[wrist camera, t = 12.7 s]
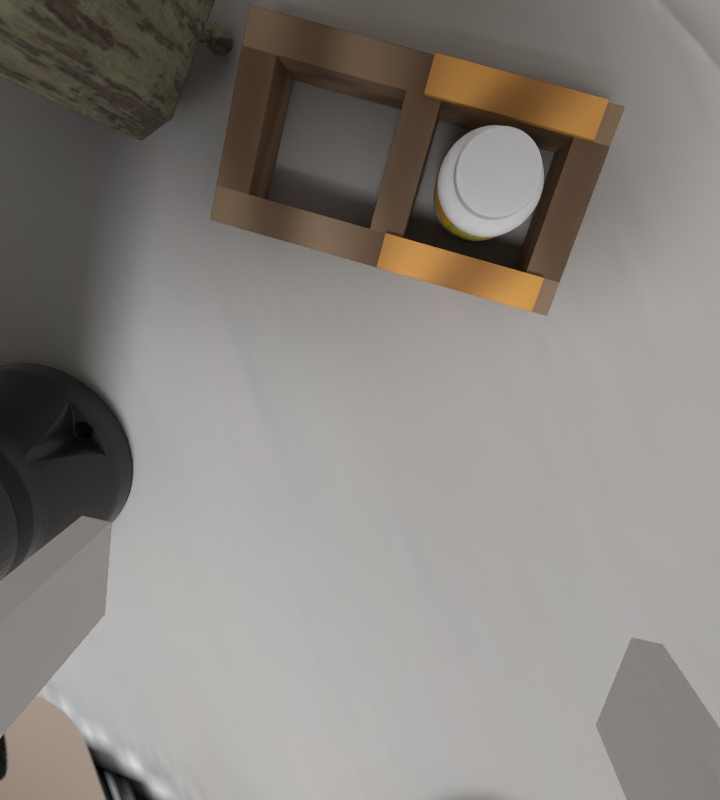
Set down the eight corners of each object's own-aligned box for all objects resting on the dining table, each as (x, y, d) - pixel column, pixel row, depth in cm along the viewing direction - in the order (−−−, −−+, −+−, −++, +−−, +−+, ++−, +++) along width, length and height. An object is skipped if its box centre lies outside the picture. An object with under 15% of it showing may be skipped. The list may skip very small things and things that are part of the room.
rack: (232, 224, 35) (207, 219, 31) (269, 35, 32) (247, 1, 28) (532, 310, 35) (548, 316, 30) (599, 126, 32) (627, 104, 27)
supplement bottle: (434, 244, 34) (440, 237, 25) (432, 156, 33) (438, 113, 24) (518, 239, 34) (557, 229, 24) (519, 149, 32) (561, 102, 23)
